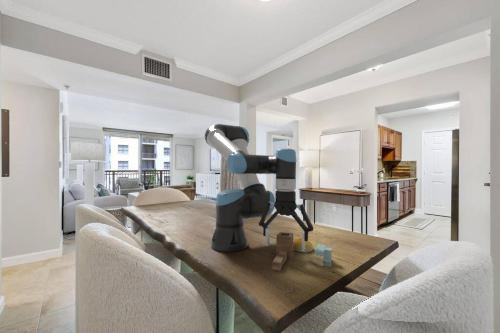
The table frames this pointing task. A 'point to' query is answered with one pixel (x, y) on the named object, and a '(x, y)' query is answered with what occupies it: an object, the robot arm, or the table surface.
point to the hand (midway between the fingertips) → (284, 247)
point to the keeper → (324, 254)
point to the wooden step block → (283, 249)
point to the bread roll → (298, 246)
